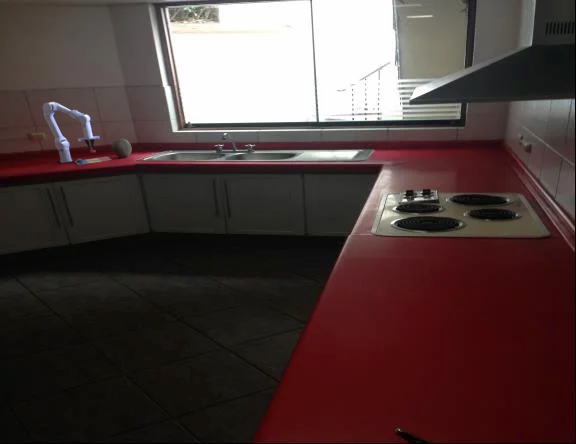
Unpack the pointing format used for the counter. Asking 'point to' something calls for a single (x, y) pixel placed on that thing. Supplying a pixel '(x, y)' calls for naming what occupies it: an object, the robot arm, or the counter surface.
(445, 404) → the counter surface
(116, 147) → the cantaloupe
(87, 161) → the board
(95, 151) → the red spoon
